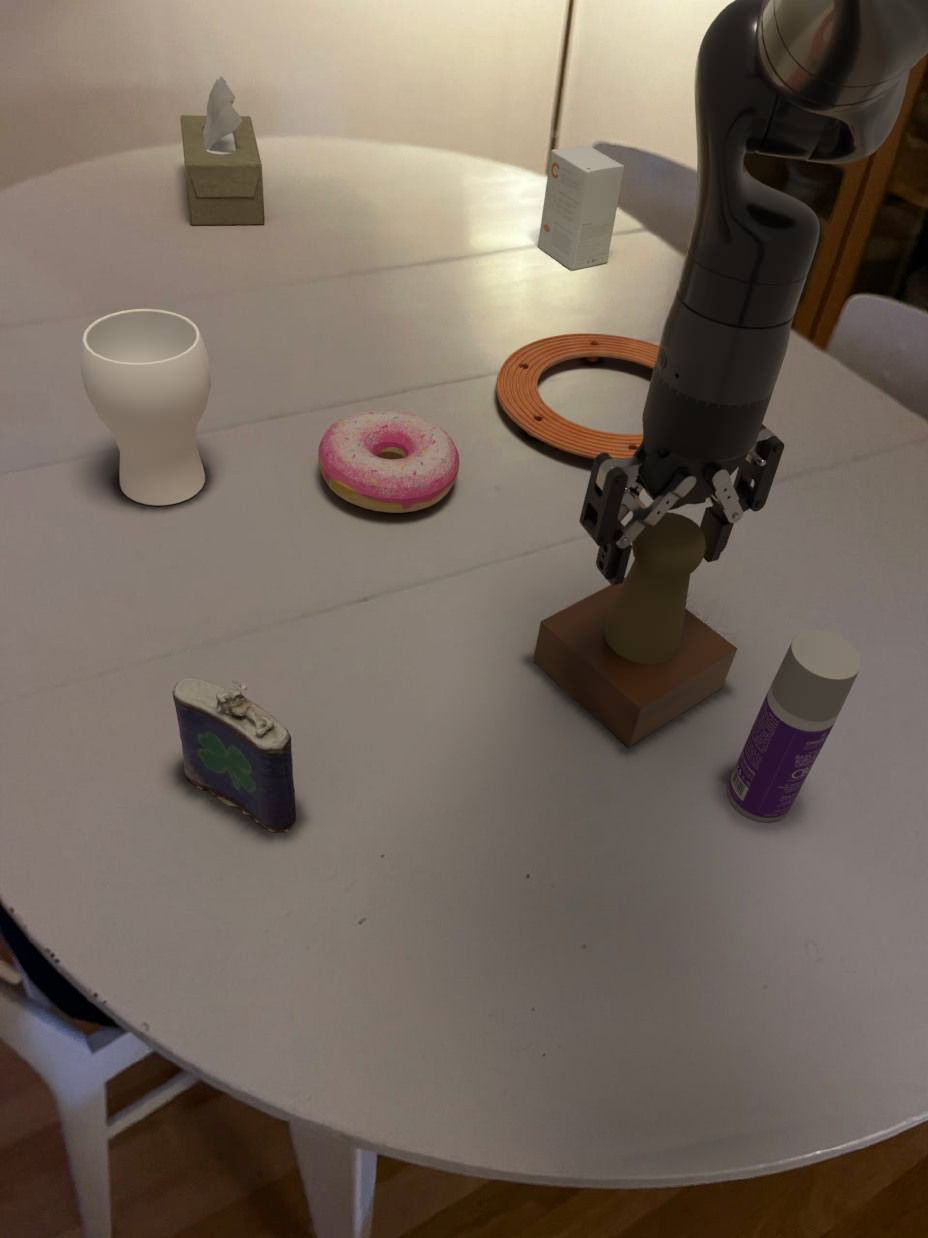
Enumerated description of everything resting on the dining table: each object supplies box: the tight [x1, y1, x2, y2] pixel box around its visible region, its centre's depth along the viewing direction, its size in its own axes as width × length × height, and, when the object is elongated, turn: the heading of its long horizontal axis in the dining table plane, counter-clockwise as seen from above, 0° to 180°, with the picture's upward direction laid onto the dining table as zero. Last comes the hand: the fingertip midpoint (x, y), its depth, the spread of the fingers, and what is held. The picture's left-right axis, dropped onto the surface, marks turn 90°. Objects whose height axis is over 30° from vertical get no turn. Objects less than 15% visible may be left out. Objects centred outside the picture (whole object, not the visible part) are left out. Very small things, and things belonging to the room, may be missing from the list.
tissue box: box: [179, 76, 266, 226], centre depth 138 cm, size 19×10×16 cm, turn 13°
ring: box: [495, 332, 659, 460], centre depth 111 cm, size 25×25×2 cm
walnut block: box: [532, 576, 738, 748], centre depth 81 cm, size 11×11×4 cm
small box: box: [537, 144, 625, 271], centre depth 135 cm, size 8×6×13 cm
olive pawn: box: [604, 511, 706, 664], centre depth 76 cm, size 6×6×11 cm
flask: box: [171, 677, 298, 833], centre depth 67 cm, size 9×3×11 cm, turn 58°
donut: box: [317, 409, 460, 514], centre depth 97 cm, size 14×13×5 cm
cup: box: [80, 308, 212, 506], centre depth 91 cm, size 11×11×15 cm
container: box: [726, 629, 862, 823], centre depth 70 cm, size 5×5×15 cm
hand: (659, 565), depth 75 cm, fingers open, 8 cm apart
